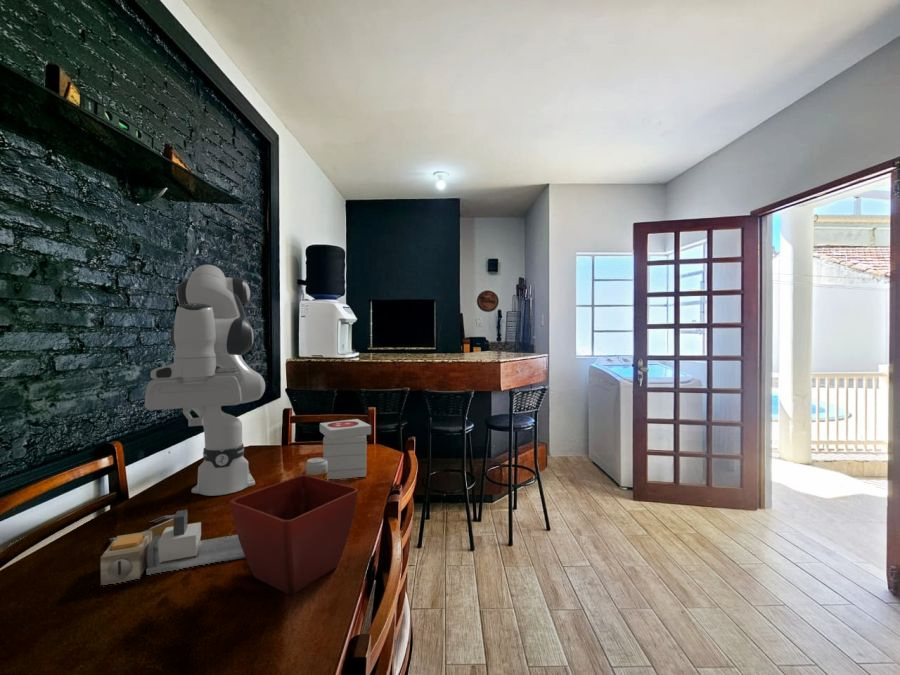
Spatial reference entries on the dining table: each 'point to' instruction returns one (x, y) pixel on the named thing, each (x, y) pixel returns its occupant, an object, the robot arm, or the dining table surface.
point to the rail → (207, 554)
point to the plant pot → (294, 530)
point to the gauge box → (125, 561)
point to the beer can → (317, 468)
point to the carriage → (179, 539)
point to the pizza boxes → (345, 447)
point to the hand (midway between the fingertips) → (195, 425)
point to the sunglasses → (158, 526)
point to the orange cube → (127, 542)
